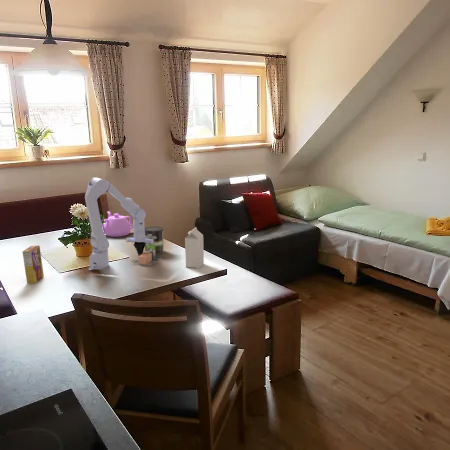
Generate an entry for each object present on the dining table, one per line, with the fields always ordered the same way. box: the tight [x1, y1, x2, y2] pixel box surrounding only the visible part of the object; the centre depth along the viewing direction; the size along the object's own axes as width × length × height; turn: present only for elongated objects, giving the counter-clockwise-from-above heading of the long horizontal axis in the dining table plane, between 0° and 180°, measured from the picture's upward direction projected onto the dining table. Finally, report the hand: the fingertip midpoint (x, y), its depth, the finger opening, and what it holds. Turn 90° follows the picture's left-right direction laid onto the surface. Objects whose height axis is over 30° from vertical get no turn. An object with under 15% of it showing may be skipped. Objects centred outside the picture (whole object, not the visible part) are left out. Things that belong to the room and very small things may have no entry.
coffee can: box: [144, 226, 165, 255], centre depth 229 cm, size 10×10×14 cm
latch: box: [144, 249, 157, 259], centre depth 217 cm, size 6×4×5 cm, turn 165°
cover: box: [137, 251, 152, 265], centre depth 212 cm, size 7×4×4 cm, turn 165°
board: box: [131, 255, 163, 267], centre depth 215 cm, size 15×10×2 cm, turn 165°
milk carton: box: [184, 226, 205, 269], centre depth 208 cm, size 7×7×19 cm
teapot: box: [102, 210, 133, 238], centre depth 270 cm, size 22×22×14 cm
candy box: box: [22, 245, 45, 285], centre depth 190 cm, size 9×4×15 cm, turn 0°
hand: (140, 255), depth 220 cm, fingers closed
